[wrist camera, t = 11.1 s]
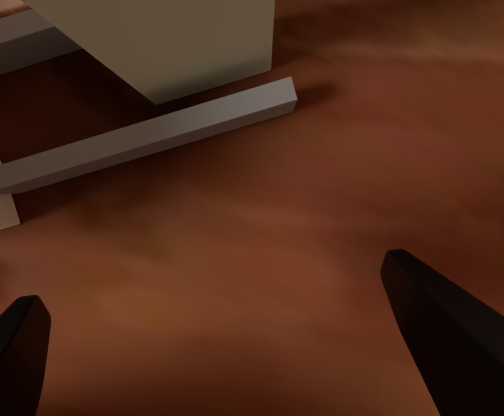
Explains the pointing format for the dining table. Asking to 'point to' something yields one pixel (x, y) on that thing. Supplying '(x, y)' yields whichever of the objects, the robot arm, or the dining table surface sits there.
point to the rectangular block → (169, 40)
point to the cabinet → (124, 139)
